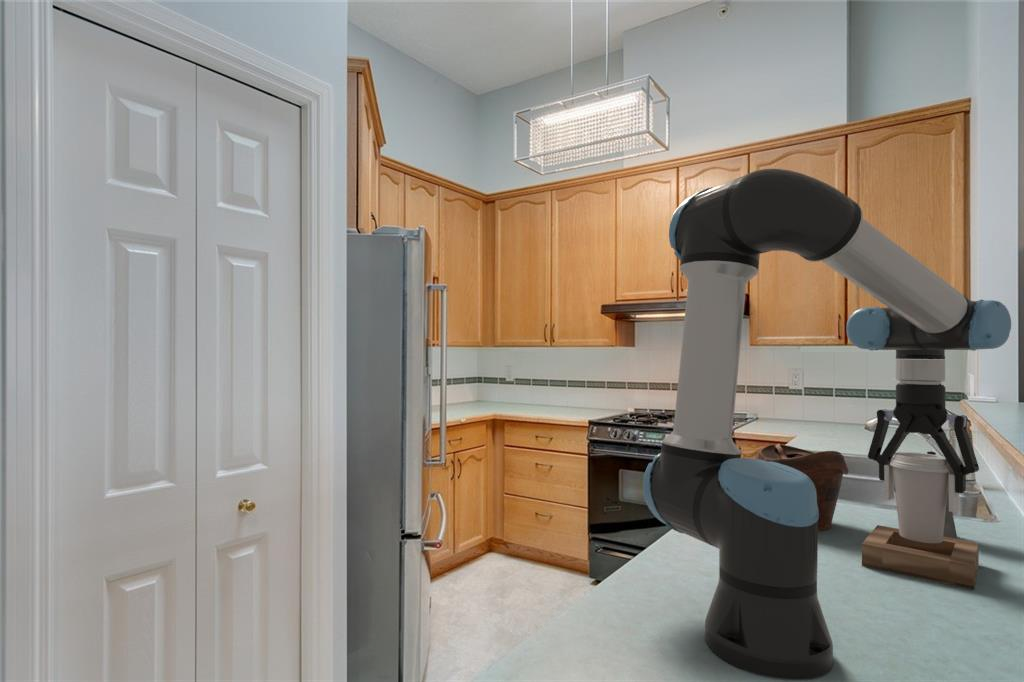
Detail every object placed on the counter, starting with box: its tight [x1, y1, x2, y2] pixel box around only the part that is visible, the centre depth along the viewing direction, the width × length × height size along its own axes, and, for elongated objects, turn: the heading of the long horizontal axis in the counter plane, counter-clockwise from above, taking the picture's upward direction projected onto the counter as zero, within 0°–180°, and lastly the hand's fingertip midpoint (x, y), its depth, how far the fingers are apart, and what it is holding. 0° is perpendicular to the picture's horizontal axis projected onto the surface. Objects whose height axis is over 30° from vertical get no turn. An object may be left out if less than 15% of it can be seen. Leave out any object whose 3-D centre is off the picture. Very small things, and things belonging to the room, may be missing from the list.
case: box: [754, 442, 850, 532], centre depth 133 cm, size 18×20×18 cm
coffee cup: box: [890, 451, 953, 543], centre depth 107 cm, size 10×10×15 cm
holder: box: [861, 524, 979, 591], centre depth 106 cm, size 16×16×4 cm
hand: (920, 504), depth 107 cm, fingers closed on coffee cup, 9 cm apart
